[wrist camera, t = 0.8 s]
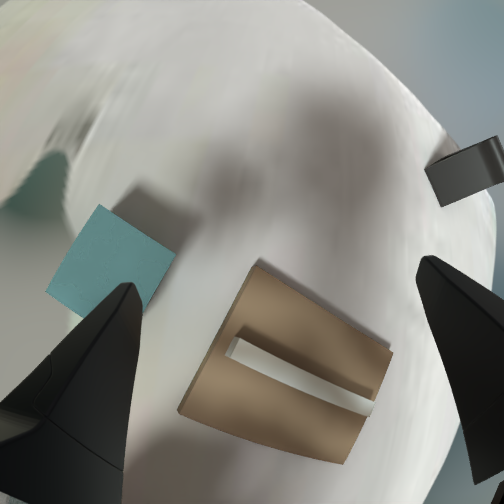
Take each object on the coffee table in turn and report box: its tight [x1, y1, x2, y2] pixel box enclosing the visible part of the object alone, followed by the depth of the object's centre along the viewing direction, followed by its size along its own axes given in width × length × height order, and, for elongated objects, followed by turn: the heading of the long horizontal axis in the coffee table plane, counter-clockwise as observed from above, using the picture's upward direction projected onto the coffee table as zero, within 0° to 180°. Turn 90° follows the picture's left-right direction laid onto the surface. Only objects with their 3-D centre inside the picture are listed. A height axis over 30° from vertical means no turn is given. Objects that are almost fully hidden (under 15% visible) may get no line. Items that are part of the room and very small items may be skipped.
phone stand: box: [424, 136, 504, 207], centre depth 35 cm, size 9×6×12 cm, turn 119°
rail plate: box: [177, 266, 393, 465], centre depth 25 cm, size 13×18×2 cm
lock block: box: [45, 204, 176, 318], centre depth 19 cm, size 6×6×4 cm
